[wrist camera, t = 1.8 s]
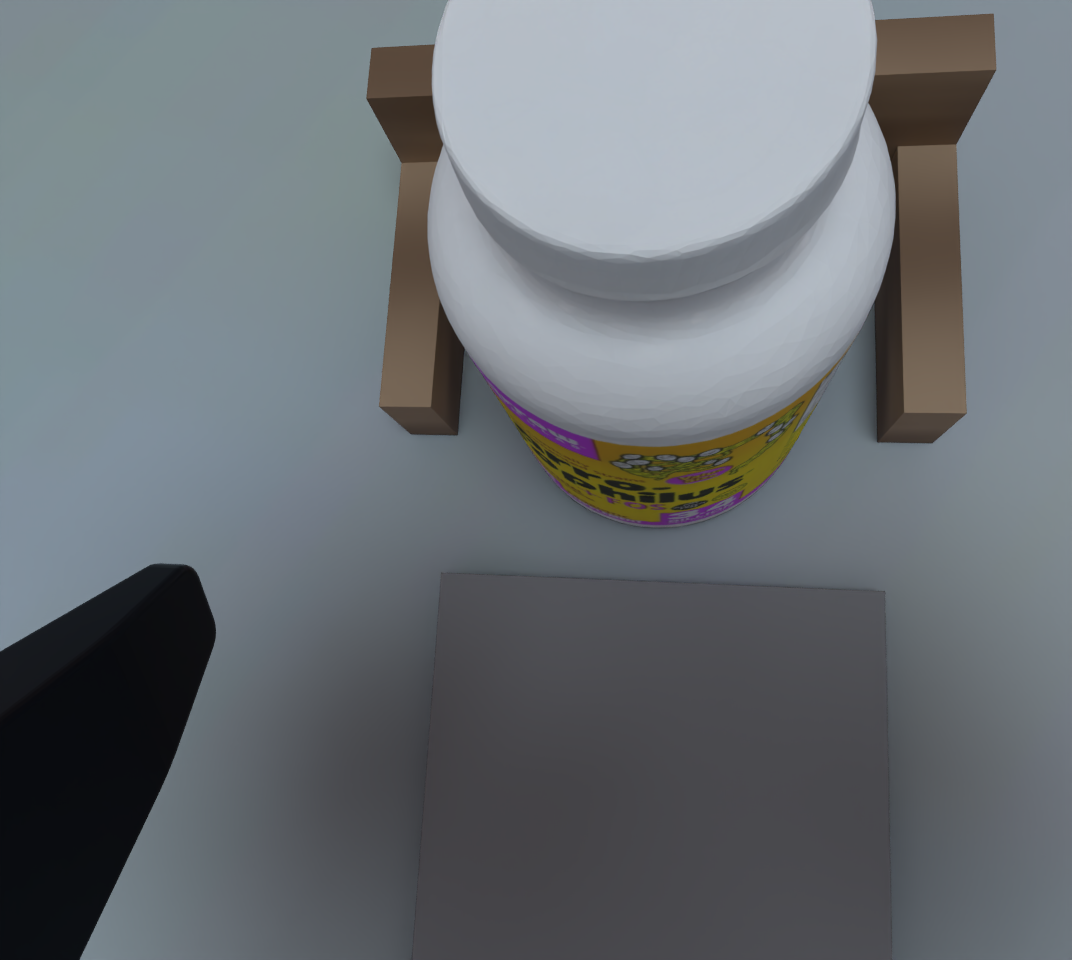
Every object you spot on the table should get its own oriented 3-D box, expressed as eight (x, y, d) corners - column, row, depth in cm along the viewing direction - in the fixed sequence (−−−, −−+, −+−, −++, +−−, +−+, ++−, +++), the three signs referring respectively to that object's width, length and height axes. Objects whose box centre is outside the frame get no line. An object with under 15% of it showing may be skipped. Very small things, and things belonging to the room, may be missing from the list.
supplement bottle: (485, 479, 22) (236, 238, 10) (580, 240, 23) (467, -265, 10) (749, 575, 21) (861, 439, 8) (840, 316, 21) (1066, -164, 9)
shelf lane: (932, 442, 21) (1011, 375, 16) (411, 434, 22) (338, 371, 18) (923, 157, 22) (994, 13, 17) (433, 173, 24) (371, 48, 19)
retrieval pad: (889, 1089, 18) (894, 1101, 18) (412, 1028, 20) (406, 1038, 19) (880, 593, 20) (885, 591, 20) (446, 574, 22) (441, 572, 21)
